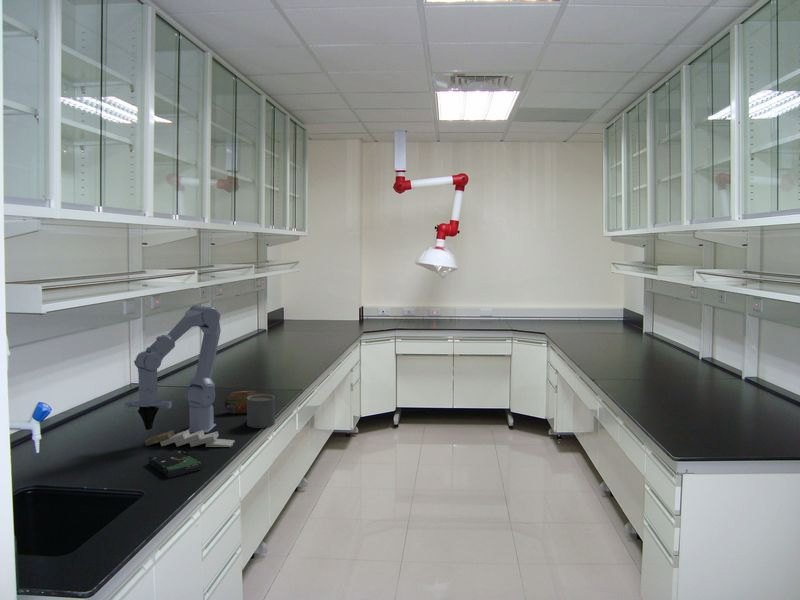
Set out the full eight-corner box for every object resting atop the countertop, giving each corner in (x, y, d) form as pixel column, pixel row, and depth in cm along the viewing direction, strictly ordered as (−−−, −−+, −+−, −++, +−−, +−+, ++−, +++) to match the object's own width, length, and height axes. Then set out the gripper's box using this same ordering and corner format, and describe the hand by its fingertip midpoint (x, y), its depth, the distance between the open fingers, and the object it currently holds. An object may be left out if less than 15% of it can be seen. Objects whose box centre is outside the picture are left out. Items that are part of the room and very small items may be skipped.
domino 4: (205, 443, 199) (230, 445, 199) (210, 438, 204) (234, 440, 204) (205, 448, 199) (230, 450, 199) (210, 442, 204) (234, 444, 204)
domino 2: (174, 442, 199) (197, 434, 198) (180, 437, 204) (202, 429, 203) (176, 446, 199) (199, 439, 199) (182, 441, 204) (204, 434, 204)
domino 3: (189, 442, 199) (212, 436, 199) (194, 437, 204) (217, 431, 204) (190, 447, 199) (214, 440, 199) (195, 442, 204) (218, 435, 204)
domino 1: (159, 442, 199) (182, 434, 199) (166, 437, 204) (188, 429, 204) (161, 446, 199) (184, 438, 199) (167, 441, 204) (189, 434, 204)
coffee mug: (273, 427, 221) (273, 400, 221) (245, 428, 220) (245, 401, 219) (275, 417, 235) (276, 391, 234) (249, 417, 233) (249, 392, 232)
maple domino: (144, 441, 199) (167, 434, 199) (151, 436, 204) (173, 429, 204) (146, 446, 199) (169, 438, 199) (152, 441, 204) (175, 434, 204)
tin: (224, 414, 237) (224, 393, 236) (224, 412, 240) (223, 391, 239) (264, 411, 242) (264, 390, 242) (262, 409, 245) (262, 388, 245)
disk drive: (148, 466, 183) (168, 479, 173) (147, 457, 183) (168, 470, 173) (181, 458, 191) (203, 470, 180) (181, 449, 190) (203, 461, 180)
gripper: (120, 390, 196) (121, 432, 197) (165, 391, 196) (165, 433, 197) (130, 385, 203) (131, 425, 204) (173, 386, 203) (174, 426, 204)
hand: (148, 428), depth 201 cm, fingers closed
